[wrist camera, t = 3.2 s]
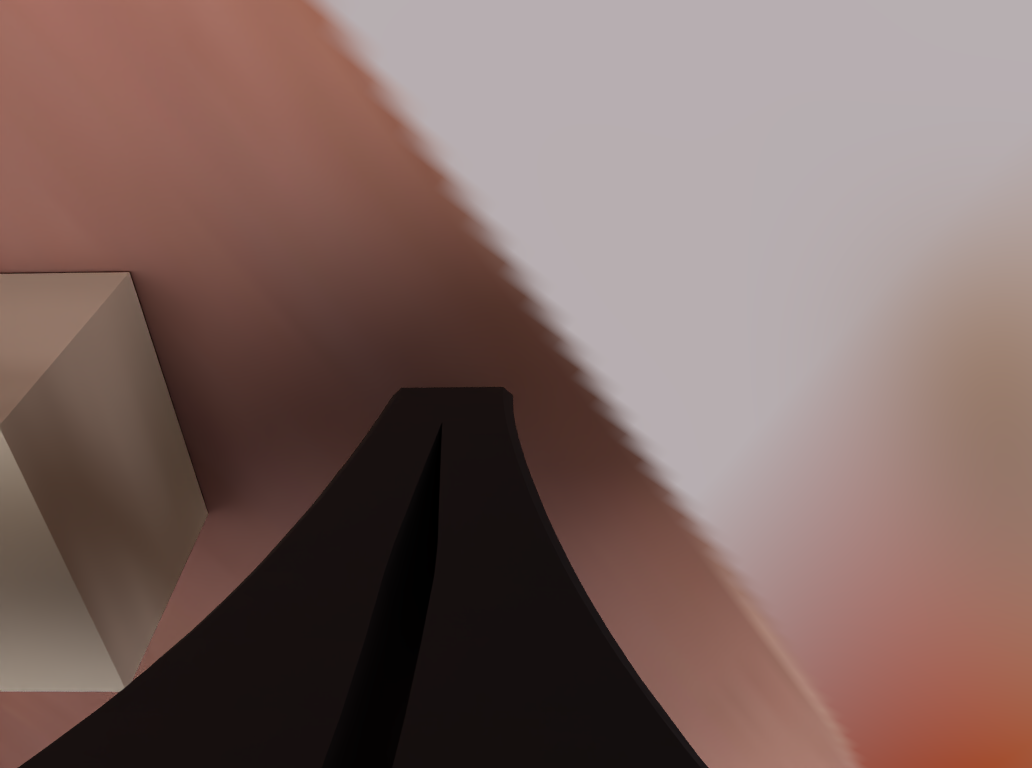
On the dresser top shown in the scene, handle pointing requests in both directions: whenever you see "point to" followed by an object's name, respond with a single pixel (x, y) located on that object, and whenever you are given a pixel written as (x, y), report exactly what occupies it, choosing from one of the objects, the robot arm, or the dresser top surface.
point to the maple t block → (85, 484)
